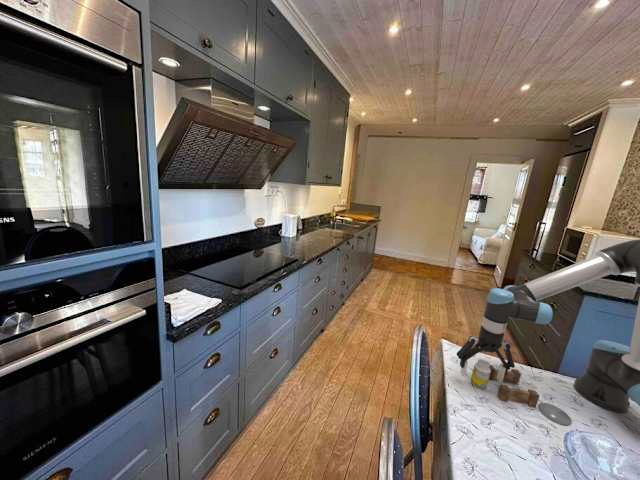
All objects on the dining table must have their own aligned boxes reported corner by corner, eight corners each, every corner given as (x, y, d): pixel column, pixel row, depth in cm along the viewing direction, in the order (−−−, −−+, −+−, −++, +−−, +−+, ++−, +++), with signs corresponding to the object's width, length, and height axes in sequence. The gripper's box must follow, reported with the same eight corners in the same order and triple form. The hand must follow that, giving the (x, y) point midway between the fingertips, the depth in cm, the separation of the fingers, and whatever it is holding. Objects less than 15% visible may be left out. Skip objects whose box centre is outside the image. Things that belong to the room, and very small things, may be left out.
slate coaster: (558, 406, 97) (559, 405, 97) (578, 428, 88) (578, 426, 88) (532, 401, 98) (532, 400, 98) (548, 422, 90) (549, 421, 89)
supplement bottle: (473, 377, 108) (479, 355, 106) (488, 386, 104) (494, 363, 102) (467, 382, 105) (473, 360, 103) (482, 392, 101) (488, 368, 98)
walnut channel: (514, 380, 109) (517, 369, 108) (535, 407, 96) (539, 395, 94) (483, 375, 110) (486, 364, 109) (500, 400, 97) (503, 388, 96)
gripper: (522, 329, 101) (509, 376, 106) (454, 318, 105) (444, 365, 109) (534, 340, 94) (520, 390, 98) (461, 328, 97) (450, 378, 102)
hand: (480, 377), depth 104 cm, fingers open, 13 cm apart
